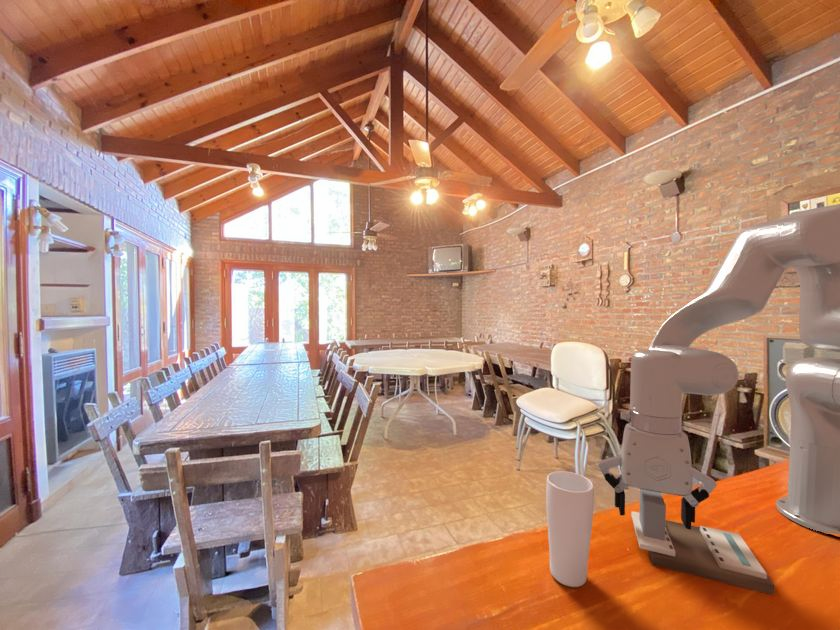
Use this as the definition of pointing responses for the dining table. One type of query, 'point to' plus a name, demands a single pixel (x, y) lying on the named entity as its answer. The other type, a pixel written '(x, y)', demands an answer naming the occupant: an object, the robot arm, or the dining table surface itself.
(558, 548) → the drinking glass
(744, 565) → the board
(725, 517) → the dining table surface
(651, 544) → the stub
